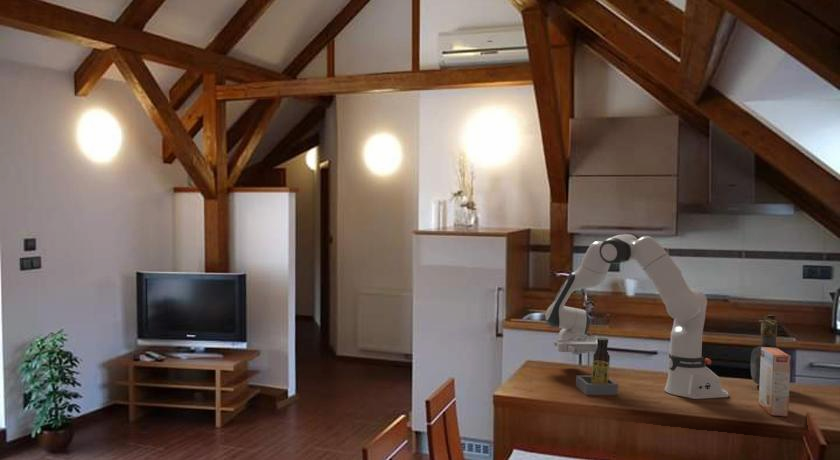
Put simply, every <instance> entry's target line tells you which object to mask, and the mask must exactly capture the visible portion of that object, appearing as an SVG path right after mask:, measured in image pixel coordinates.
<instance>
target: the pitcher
mask: <svg viewBox="0 0 840 460" xmlns="http://www.w3.org/2000/svg"><path fill="white" fill-rule="evenodd" d="M764 313H765V314H766V316H764V318H761V319H758V321H759V323H760V336H761V345H759V346H757V347H754V348H753V349H752V351H751V355H750V376H751V378H752V381H753V382H754V383H755V384H757V385H756V389H757V390H758V391H759V385H760V361H761V347H769V348H778V347H777V336H778V326H779V324H781V322H782V321H781V320H776V319H778V318H777V317H776V315H773V314H772V313H769V312H768V311H765V312H764ZM778 349H780V350H781V351H783V350H782V349H781V348H778Z"/></svg>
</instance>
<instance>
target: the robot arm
mask: <svg viewBox="0 0 840 460" xmlns="http://www.w3.org/2000/svg"><path fill="white" fill-rule="evenodd" d="M631 260H633V261H635V262H636V263H637V264H638V265H639V266H640V267H641V269H642V271H644V273H645V275H646V276H647V278H649V280H650V281H651V283H652V284H653V286H654V287H655V289H656V291H657V293H658V294H659V296H660V298H661V300H662V303H663V304H664V305H665V309H666V312H667V314H668V316H670V317H671V318H672V319H673V322H672V323H673V324H672V328H671V331H670V342H669V343H670V345H669V346H670V348H669V349H670V350H669V354H668V361H667V362H668V374H667V380H666V384H665V387H664V391H665V392H666V393H669V394H671V395H674V396H678V397H679V396H680V397H685V398H688V399H694V400H703V399H717V398H728V397H729V396H730V395H729V392H728V391H727V390H726V389H723V383H722V380H721V378H720V377H719V376H718V375H717V374H716V373H715V372H714V371H712V370H711V369H710V368H709V367H708V366H706V364H707V365H711V364H712V360H711V358H708V357H704V356H702V351H703V349H702V347H703V346H702V345H703V333H704V327H705V320H706V312H707V306H708V298H707V296H706V295H705V294H704V292H702V291H700V290H699V289H697V288H692V287H690V286H688V284H687V282H686V281H685V279H684V276H683V273H682V271H681V269H680V268H679V266H678V265H677V264H676V262H675V261H674V260H673V259H672V258H671V256H670V255H669V253H668V252H667V251H666V249H664V248H663V246H662V245H661V244H660V243H659V242H658V241H657V240H656V239H655V238H653V237H651V236H650V235H645V236H641V237H640V236H639V235H638V234H635V233H630V232H629V233H624V234H618V235H615V236H612V237H608V238H606V239H605V240H596V241H593V242H592V243H591V244H590V245H589V247H588V248H587V250H586V251H585V254H584V256H583V258H582V261H581V263H580V266H579V267H578V268H577V269H576V270H575V271H574V272H570V273H569V274H568V275H567V277H566V278H565V279H564V281H563V283H562V285H561V286H560V288H559V289H558V292H557V294H556V295H555V297H554V299H553V300H552V302H551V303H550V304H549V306H548V307H547V310H546V312H545V316H544V318H545V319H544V320H545V321H546V323H547V324H548V326H549V327H551V328H557V329H560V331H559V333H558V339H557V341H556V342H554V343H553V346H554V347H556V350H557V351H558V352H560V353H571V354H573V355H582V354H586V353H595V352H596V350H597V344H598V342H597V339H598V338H599V336H597V335H593V334H588V332H589V330H590V326H591V318H590V316H589V314H588V312H587V310H585V309H582V308H577V307H572V306H566V302H567V301H568V299H569V297H570V296H571V294H572V293H573V292H575V291H577V290H581V289H589V288H590V289H591V288H595V287H598V286H600V285H601V284H603V282H604V280H606V277H607V275H608V271H609V270H610V267H611V265H619V264H622V263H627V262H630V261H631ZM689 287H690V288H689Z"/></svg>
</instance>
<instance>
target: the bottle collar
mask: <svg viewBox="0 0 840 460" xmlns="http://www.w3.org/2000/svg"><path fill="white" fill-rule="evenodd" d="M575 377H576V379H575V386H576V388H578V389H579V390H580V391H581V392H582V393H583V394H584V395H586V396H618V395H619V384H618V383H617V382H615V381H614V380H613V379H612V378H610V377H609V378H608V384H591V379H592V375H576V376H575Z"/></svg>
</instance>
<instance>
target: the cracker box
mask: <svg viewBox="0 0 840 460" xmlns="http://www.w3.org/2000/svg"><path fill="white" fill-rule="evenodd" d="M780 349H781V348H779V349H778V347H777V348H769V347H761V361H760V385H759V384H758V385H759V390H758V405H759V406H760V407H761V408H762V409H763V410H765V412H767V413H768V414H769V416H775V417H784V418H785V417H789V401H790V382H791V381H790V380H791V363H792V362H791V357H792V356H791V355H790V354H788V353H786V352H784V351H783V350H782V349H781V350H782V351H781V350H780Z"/></svg>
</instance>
